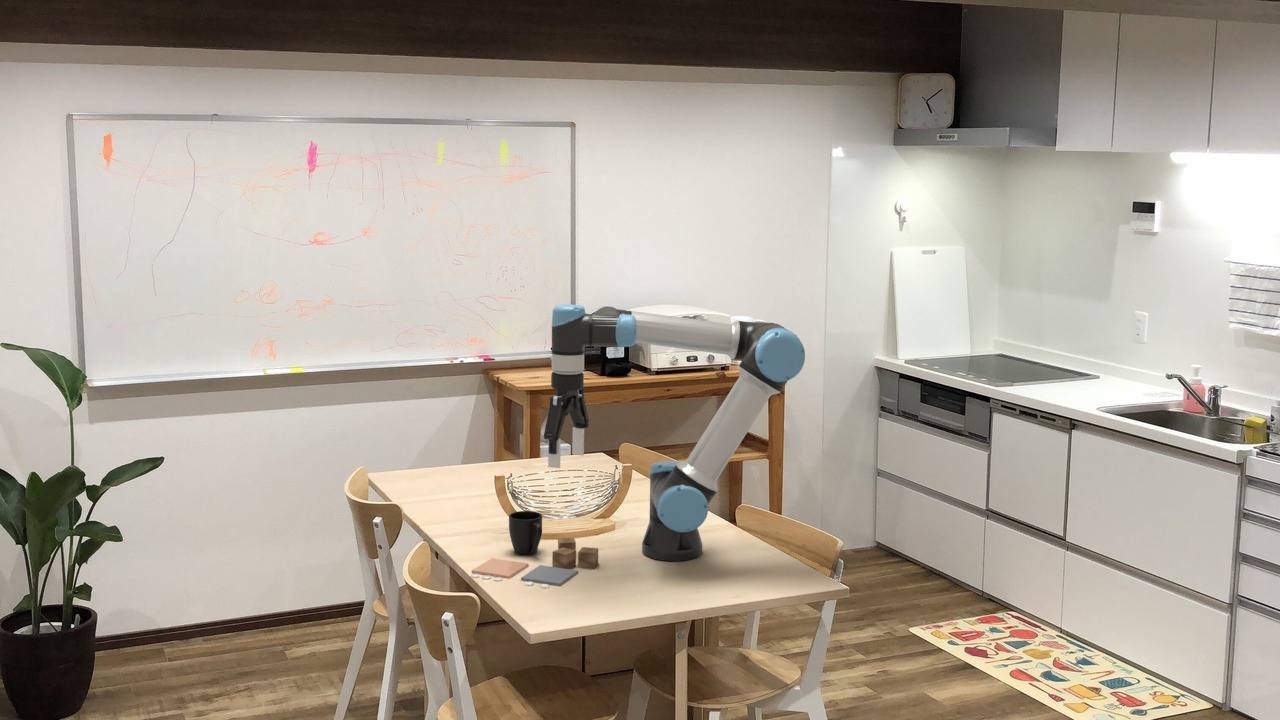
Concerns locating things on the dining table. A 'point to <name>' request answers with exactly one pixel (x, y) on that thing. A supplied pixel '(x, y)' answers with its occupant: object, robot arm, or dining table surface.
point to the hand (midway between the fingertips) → (566, 461)
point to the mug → (525, 531)
